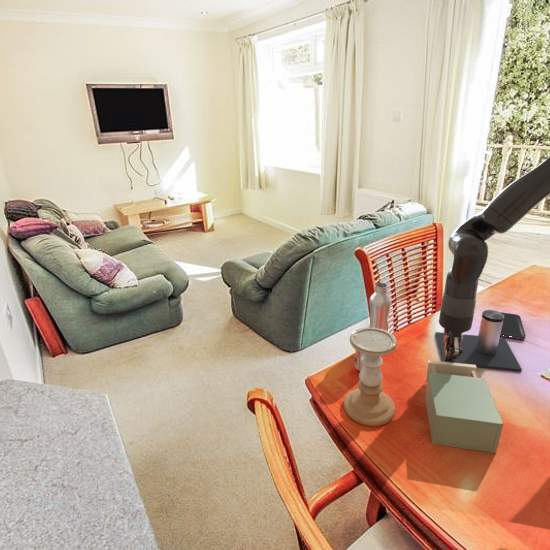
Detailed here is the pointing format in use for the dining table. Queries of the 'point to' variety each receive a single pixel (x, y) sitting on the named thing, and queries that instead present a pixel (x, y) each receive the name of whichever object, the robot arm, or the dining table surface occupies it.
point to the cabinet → (462, 412)
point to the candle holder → (371, 378)
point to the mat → (470, 355)
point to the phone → (512, 326)
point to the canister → (489, 332)
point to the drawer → (450, 368)
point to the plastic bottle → (380, 307)
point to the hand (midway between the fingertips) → (448, 366)
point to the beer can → (358, 360)
